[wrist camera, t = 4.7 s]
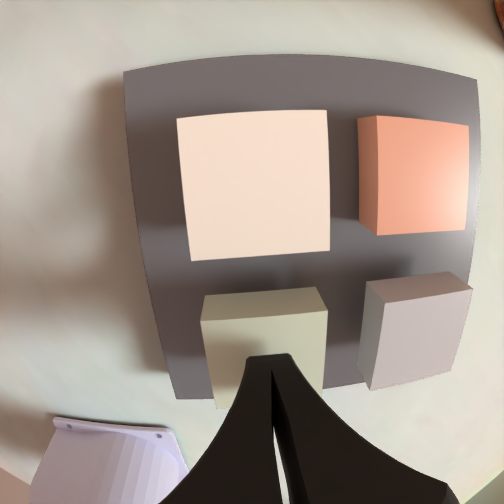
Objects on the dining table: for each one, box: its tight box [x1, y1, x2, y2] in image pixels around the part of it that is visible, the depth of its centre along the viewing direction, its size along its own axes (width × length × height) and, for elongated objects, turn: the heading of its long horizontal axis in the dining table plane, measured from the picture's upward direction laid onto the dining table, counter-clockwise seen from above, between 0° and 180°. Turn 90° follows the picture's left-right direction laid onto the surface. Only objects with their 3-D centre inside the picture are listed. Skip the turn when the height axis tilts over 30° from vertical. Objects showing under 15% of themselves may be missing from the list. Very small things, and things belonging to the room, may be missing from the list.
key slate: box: [357, 271, 473, 391], centre depth 12 cm, size 4×4×2 cm
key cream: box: [177, 110, 330, 261], centre depth 9 cm, size 4×4×2 cm
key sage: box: [200, 287, 328, 409], centre depth 11 cm, size 4×4×2 cm
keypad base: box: [124, 54, 481, 399], centre depth 13 cm, size 15×15×2 cm
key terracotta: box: [357, 115, 469, 235], centre depth 11 cm, size 4×4×2 cm
